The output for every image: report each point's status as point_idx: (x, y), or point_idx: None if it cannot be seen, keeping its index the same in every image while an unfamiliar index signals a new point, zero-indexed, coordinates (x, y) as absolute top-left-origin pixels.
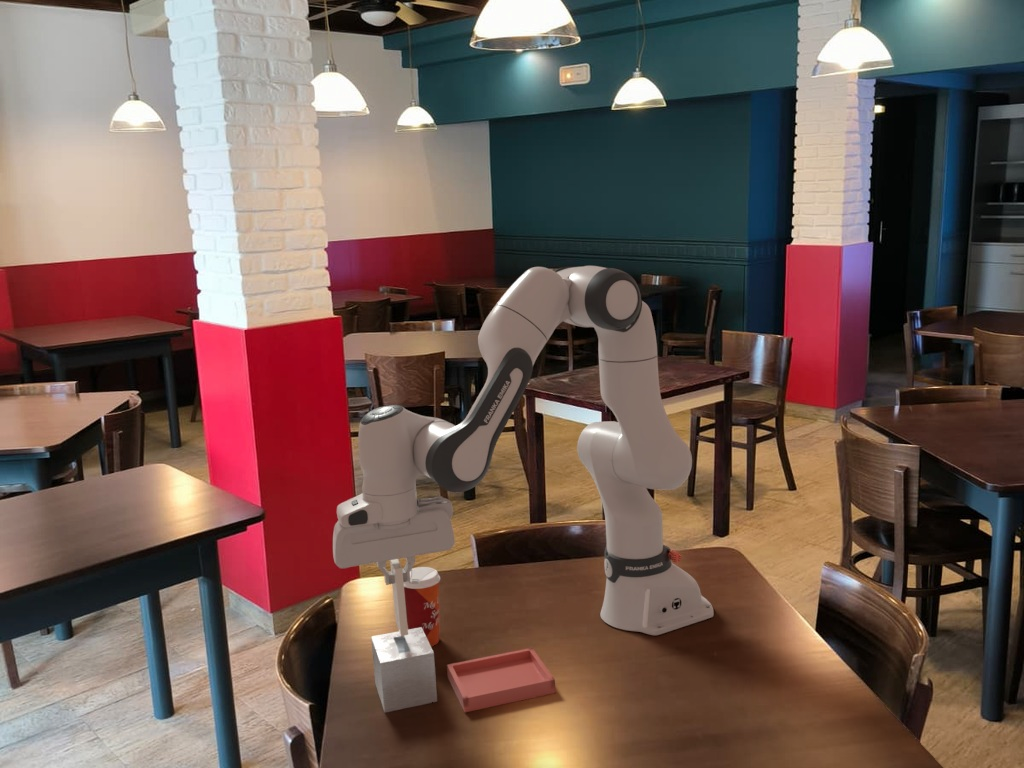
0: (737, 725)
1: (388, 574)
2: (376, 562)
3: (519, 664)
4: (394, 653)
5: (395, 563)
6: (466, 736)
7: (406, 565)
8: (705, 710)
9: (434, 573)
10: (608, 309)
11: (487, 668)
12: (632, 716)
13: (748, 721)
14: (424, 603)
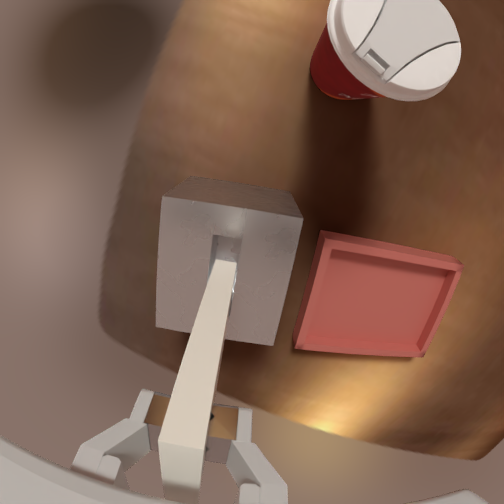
0: (463, 428)
1: (145, 453)
2: (79, 450)
3: (428, 274)
4: (192, 308)
5: (177, 484)
6: (268, 375)
7: (239, 466)
8: (470, 409)
9: (449, 63)
10: None
11: (385, 258)
12: (430, 403)
13: (471, 425)
14: (368, 94)
